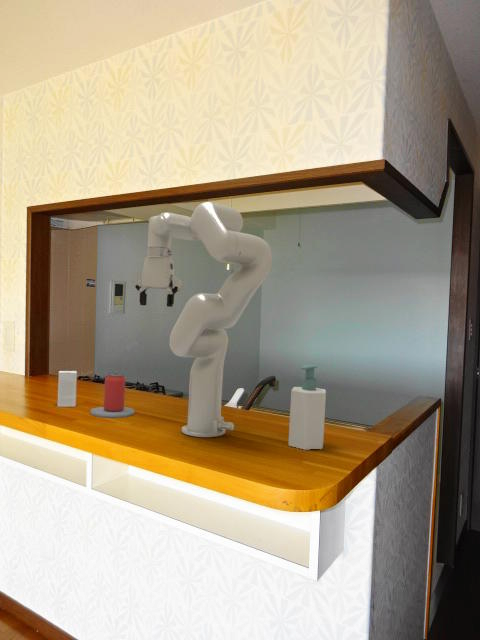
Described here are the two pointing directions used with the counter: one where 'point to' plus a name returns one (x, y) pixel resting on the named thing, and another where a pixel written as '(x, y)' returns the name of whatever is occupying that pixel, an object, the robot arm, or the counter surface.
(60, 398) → the skincare box
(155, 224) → the robot arm
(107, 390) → the beer can
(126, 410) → the slate mat
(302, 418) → the soap bottle
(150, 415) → the counter surface
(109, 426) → the counter surface
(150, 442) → the counter surface
